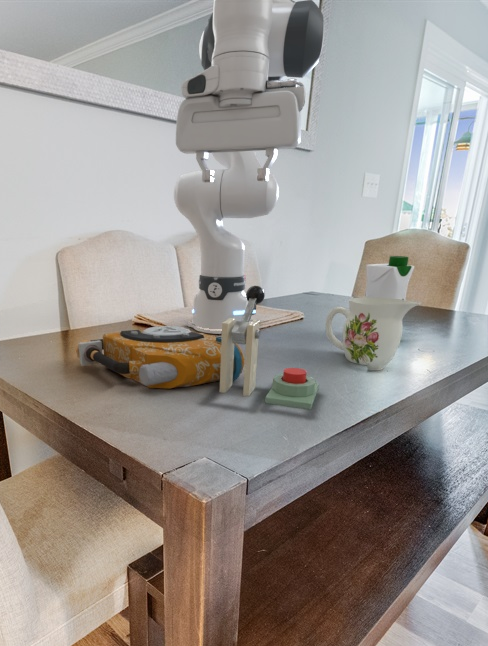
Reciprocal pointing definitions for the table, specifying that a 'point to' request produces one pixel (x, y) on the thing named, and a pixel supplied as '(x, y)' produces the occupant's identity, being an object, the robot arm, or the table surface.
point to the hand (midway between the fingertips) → (234, 181)
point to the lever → (247, 314)
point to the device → (160, 356)
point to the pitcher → (370, 329)
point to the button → (294, 375)
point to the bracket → (228, 356)
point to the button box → (292, 393)
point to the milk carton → (389, 278)
